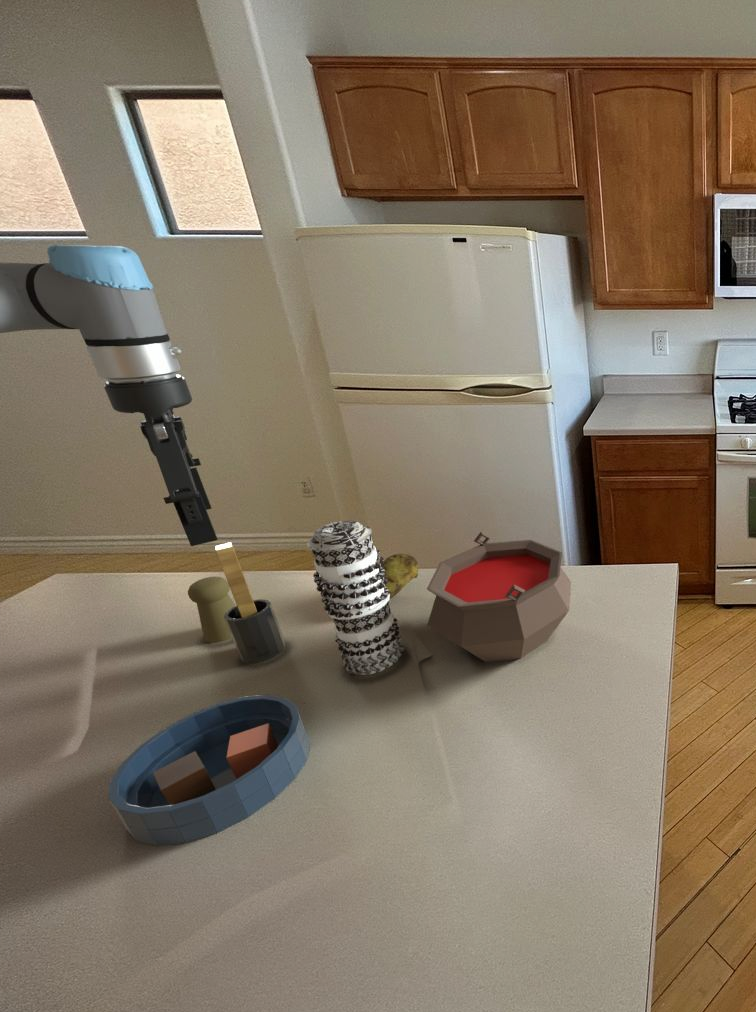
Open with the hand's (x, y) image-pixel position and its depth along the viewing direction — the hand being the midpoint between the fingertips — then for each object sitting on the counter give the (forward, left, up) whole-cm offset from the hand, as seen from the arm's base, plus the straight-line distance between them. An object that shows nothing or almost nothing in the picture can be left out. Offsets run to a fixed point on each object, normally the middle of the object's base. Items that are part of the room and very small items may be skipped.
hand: (202, 525), depth 79 cm
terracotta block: (+23, -2, -25) cm, 34 cm away
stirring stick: (-4, +1, -25) cm, 26 cm away
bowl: (+23, -6, -26) cm, 35 cm away
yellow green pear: (-8, +21, -26) cm, 35 cm away
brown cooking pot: (+19, +33, -26) cm, 46 cm away
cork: (-15, -3, -26) cm, 30 cm away
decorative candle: (+11, +14, -26) cm, 32 cm away
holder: (-4, +1, -26) cm, 26 cm away
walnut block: (+23, -9, -25) cm, 35 cm away
